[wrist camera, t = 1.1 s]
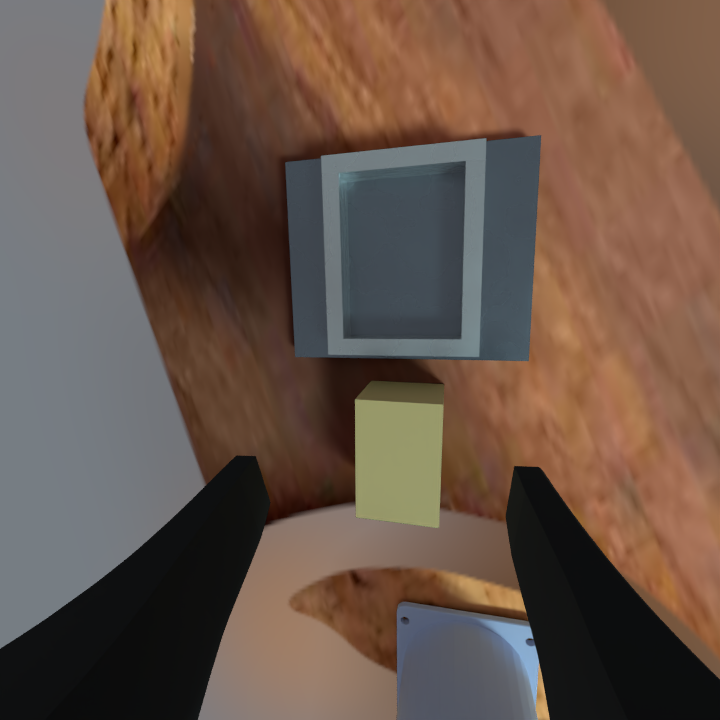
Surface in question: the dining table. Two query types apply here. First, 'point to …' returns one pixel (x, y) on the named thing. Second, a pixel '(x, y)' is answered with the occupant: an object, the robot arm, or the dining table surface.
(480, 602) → the dining table surface
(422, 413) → the block
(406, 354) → the plate
